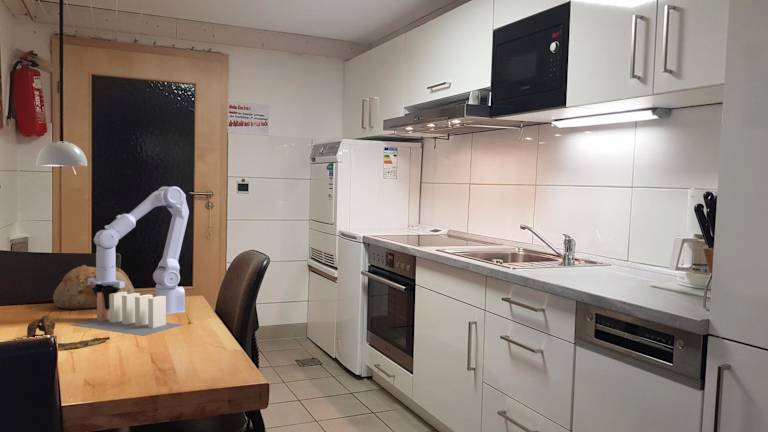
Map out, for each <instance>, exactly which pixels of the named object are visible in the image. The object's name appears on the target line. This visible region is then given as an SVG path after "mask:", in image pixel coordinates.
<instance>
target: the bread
mask: <svg viewBox="0 0 768 432" xmlns="http://www.w3.org/2000/svg"><path fill="white" fill-rule="evenodd" d="M91 278H96V266H87V264H82V265H80V266H77V267H74V268H72V269H71V270H70V271H68V272H67V273H65V275H64V277H63V278H62V280H61V281H60V283H59V284H57V285H58V286H57V287H56V288H55V290H54V291H53V292H54V293H53V296H52V299H53V300H52V301H53V303H54V305H55V306H56V307H58V308H60V309H62V308H63V310H90V309H91V310H92V309H97V297H96V295H95V293H94V291H93V290H92V287H95V286H96V285H88V279H91ZM116 280H120V281H125V287H123V288H120V289H119V291H118V292H127V294H132V293H135V289H134V286H133V283H132V282H131V280H130V279H129V276H128V275H127V273H125V272H124V271H123V270H122V268H118V267H117V266H116Z"/></svg>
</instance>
